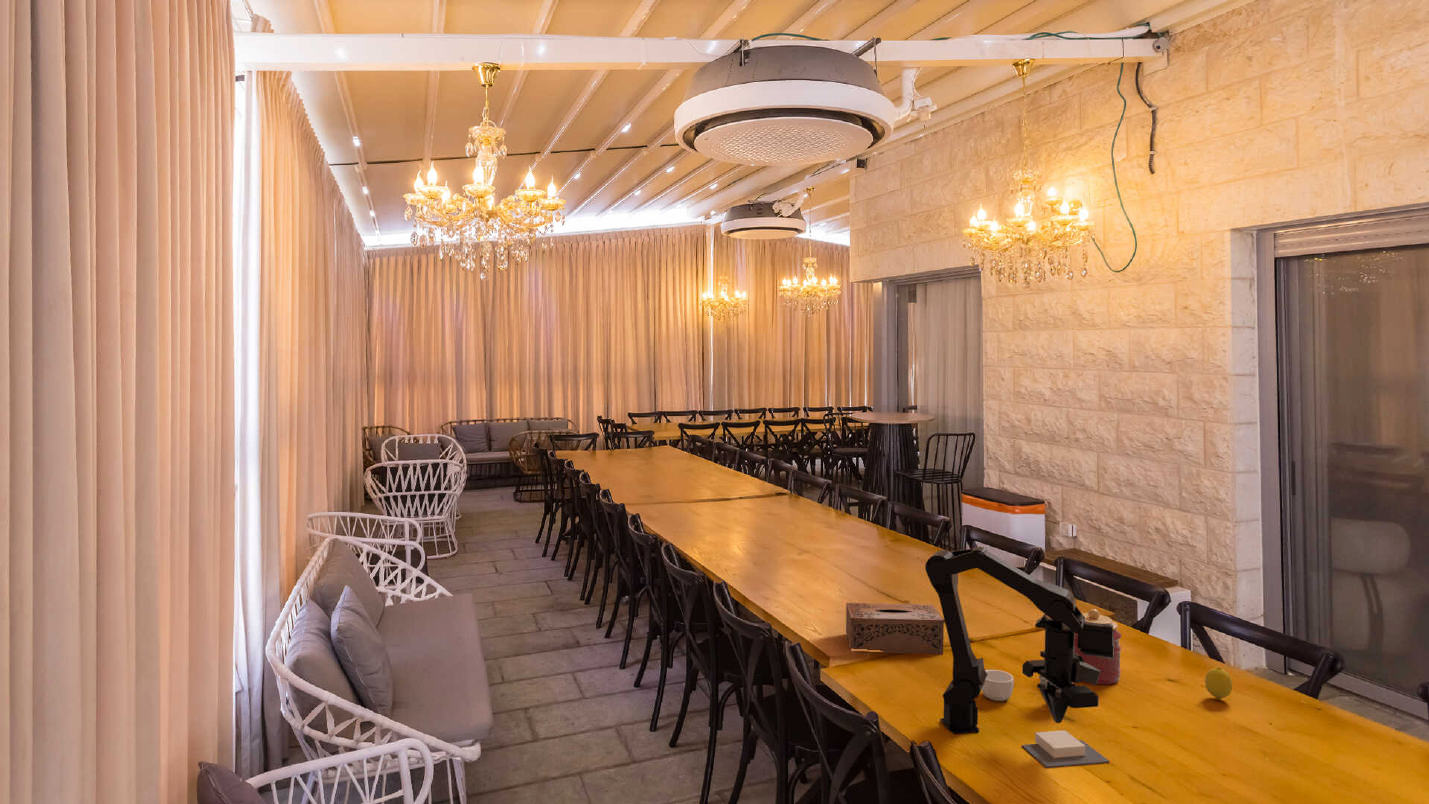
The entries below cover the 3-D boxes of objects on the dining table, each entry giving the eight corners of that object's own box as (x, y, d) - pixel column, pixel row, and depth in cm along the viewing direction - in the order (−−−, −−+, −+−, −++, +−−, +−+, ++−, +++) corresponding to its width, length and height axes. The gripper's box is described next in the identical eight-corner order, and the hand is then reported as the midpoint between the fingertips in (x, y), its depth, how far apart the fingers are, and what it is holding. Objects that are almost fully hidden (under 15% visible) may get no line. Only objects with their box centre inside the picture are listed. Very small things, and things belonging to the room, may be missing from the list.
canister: (1115, 690, 194) (1116, 620, 193) (1059, 677, 202) (1061, 610, 201) (1124, 673, 204) (1126, 607, 203) (1071, 662, 212) (1073, 598, 211)
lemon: (1206, 692, 192) (1207, 661, 192) (1233, 698, 189) (1234, 666, 188) (1203, 700, 188) (1204, 667, 188) (1230, 706, 184) (1231, 673, 184)
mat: (1046, 767, 156) (1046, 766, 156) (1022, 746, 165) (1022, 744, 165) (1109, 762, 158) (1109, 761, 158) (1082, 741, 167) (1082, 740, 167)
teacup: (1007, 707, 184) (1007, 684, 184) (975, 698, 189) (975, 676, 189) (1020, 693, 192) (1020, 672, 192) (989, 685, 197) (989, 664, 196)
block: (1035, 741, 166) (1054, 758, 159) (1035, 732, 166) (1054, 748, 159) (1065, 739, 167) (1085, 755, 160) (1065, 730, 167) (1085, 745, 160)
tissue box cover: (850, 652, 220) (851, 618, 219) (846, 635, 234) (846, 602, 234) (943, 655, 218) (943, 620, 217) (932, 637, 232) (933, 604, 232)
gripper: (1123, 664, 155) (1121, 740, 156) (1067, 632, 174) (1066, 701, 174) (1072, 667, 154) (1071, 744, 154) (1021, 635, 172) (1020, 704, 173)
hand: (1057, 722), depth 164 cm, fingers closed
